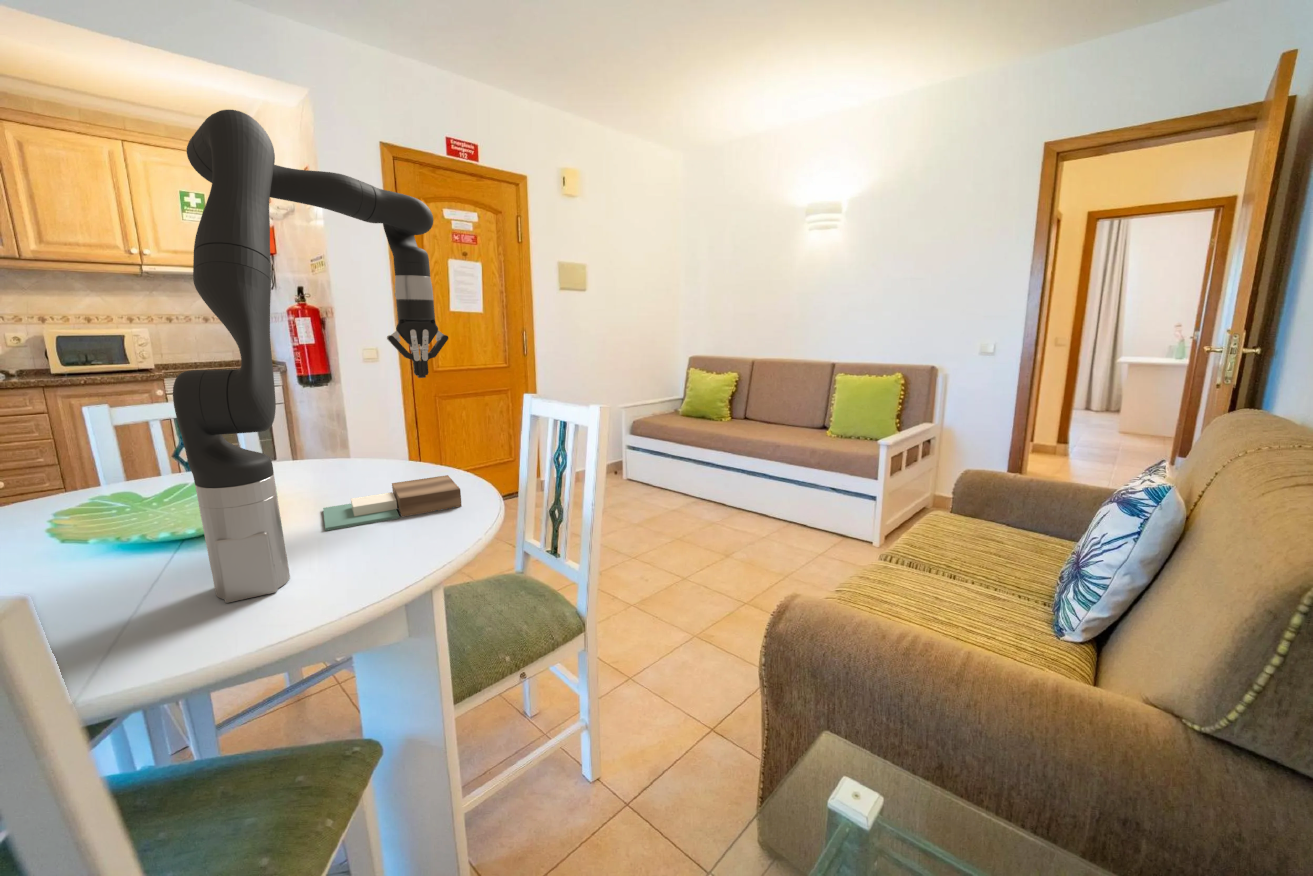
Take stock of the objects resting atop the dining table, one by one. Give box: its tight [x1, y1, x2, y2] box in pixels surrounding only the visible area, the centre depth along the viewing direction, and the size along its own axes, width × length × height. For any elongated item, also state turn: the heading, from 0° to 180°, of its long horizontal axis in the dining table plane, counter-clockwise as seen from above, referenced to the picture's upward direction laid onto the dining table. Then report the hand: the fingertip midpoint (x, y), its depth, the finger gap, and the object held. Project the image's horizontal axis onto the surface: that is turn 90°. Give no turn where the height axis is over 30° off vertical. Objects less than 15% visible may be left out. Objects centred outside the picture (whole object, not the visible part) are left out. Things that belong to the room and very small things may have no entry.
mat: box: [322, 503, 400, 532], centre depth 112 cm, size 13×13×1 cm
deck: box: [391, 474, 462, 518], centre depth 118 cm, size 12×12×4 cm
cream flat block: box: [350, 491, 398, 516], centre depth 113 cm, size 6×8×2 cm
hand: (421, 377), depth 120 cm, fingers closed
